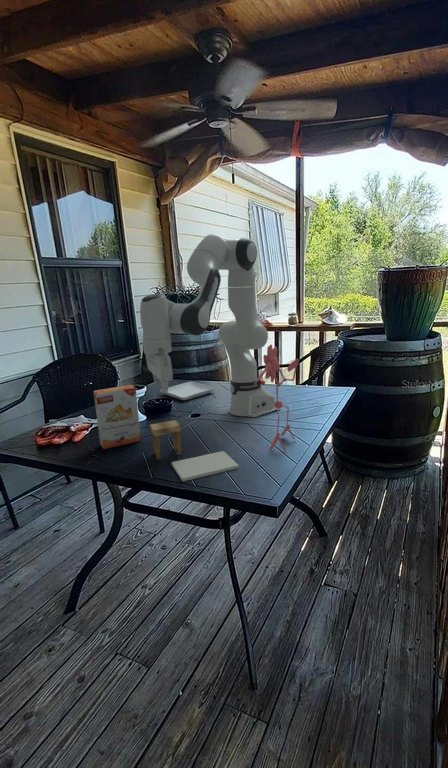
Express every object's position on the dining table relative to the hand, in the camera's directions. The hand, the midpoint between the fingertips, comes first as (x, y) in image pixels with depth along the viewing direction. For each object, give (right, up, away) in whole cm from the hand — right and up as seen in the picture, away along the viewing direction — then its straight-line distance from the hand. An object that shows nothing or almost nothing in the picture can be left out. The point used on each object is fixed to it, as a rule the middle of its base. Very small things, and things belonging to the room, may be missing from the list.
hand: (161, 388), depth 131 cm
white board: (+14, -24, -5) cm, 29 cm away
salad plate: (+2, -4, +76) cm, 76 cm away
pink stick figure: (+38, -19, +10) cm, 43 cm away
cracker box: (-18, -21, +18) cm, 32 cm away
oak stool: (+1, -22, +6) cm, 23 cm away
